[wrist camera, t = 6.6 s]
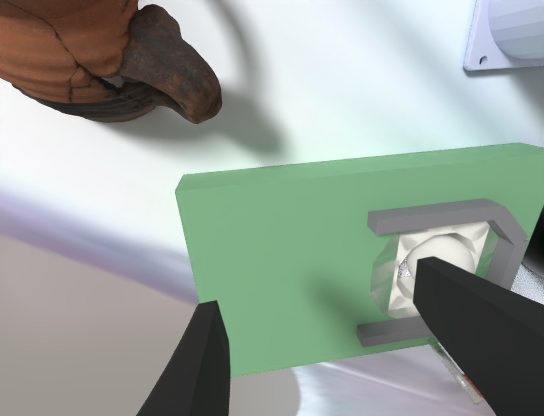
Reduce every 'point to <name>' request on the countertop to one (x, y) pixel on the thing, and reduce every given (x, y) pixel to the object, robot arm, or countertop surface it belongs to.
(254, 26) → the countertop surface
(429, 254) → the ball
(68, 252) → the countertop surface
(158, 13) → the pottery mug
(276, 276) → the mat
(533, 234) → the ink bottle
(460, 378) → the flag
